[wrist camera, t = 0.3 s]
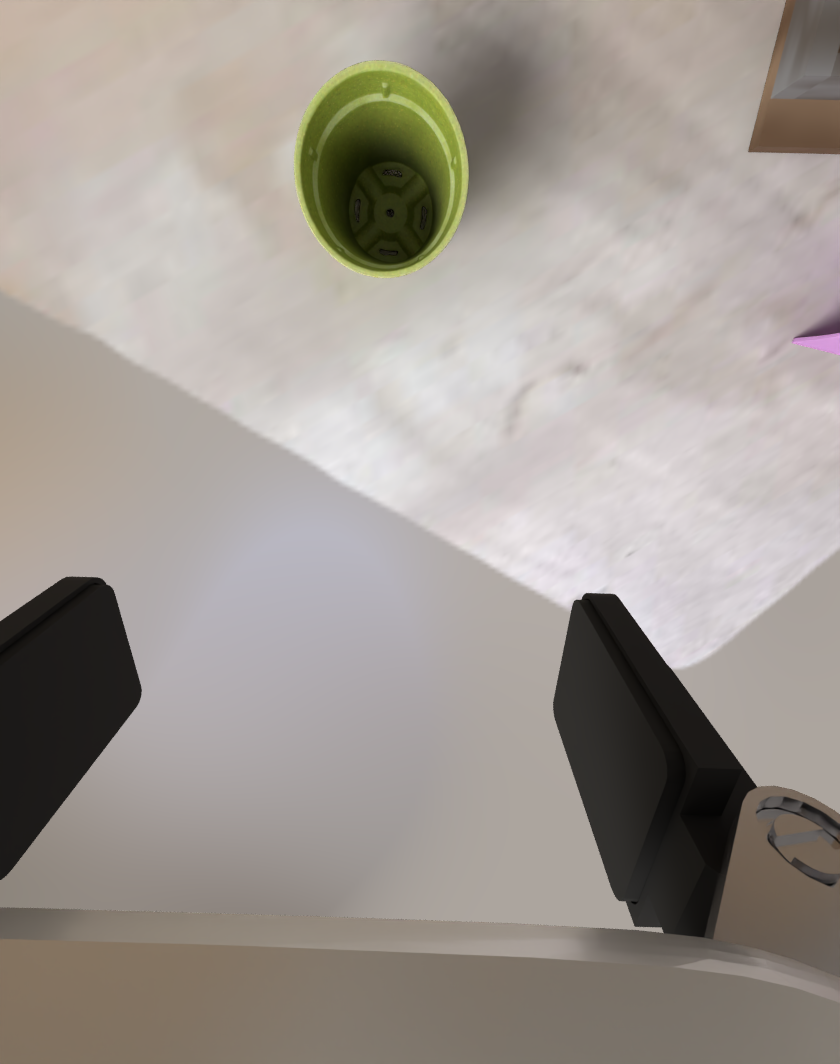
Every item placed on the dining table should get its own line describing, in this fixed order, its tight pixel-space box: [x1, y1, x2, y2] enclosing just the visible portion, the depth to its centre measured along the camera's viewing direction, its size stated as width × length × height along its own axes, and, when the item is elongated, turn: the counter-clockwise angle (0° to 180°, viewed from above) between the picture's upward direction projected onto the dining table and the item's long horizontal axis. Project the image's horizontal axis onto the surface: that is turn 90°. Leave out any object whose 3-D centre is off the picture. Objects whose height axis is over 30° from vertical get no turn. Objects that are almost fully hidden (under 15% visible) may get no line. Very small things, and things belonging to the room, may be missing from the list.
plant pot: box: [294, 60, 469, 278], centre depth 28 cm, size 9×9×9 cm
